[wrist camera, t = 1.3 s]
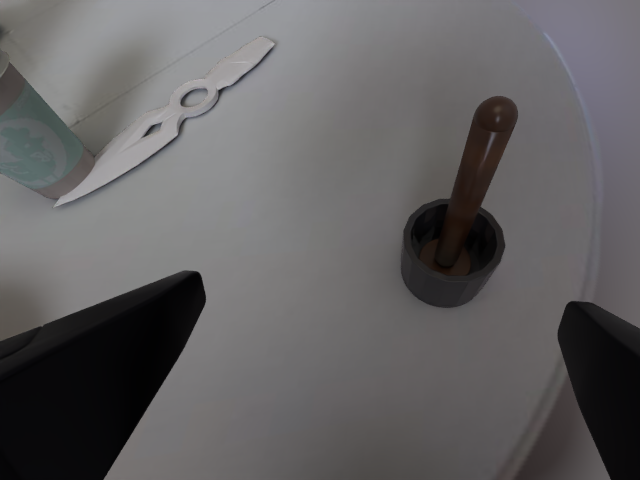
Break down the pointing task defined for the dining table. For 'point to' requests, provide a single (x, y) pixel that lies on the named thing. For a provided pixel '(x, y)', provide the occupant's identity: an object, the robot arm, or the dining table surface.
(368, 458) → the dining table surface
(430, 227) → the utensil holder
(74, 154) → the coffee cup
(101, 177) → the knife
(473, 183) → the brown wooden rod
